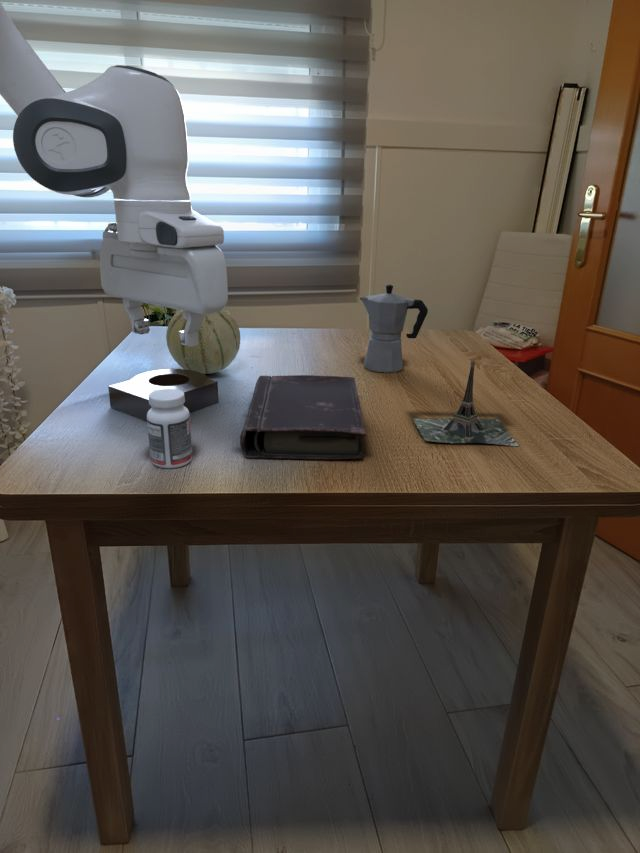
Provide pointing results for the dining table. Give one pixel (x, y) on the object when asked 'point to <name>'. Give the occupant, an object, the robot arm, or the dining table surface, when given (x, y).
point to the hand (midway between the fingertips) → (164, 339)
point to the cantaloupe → (205, 342)
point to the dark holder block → (136, 391)
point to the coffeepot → (389, 329)
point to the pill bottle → (169, 429)
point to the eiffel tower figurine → (465, 424)
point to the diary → (304, 418)
